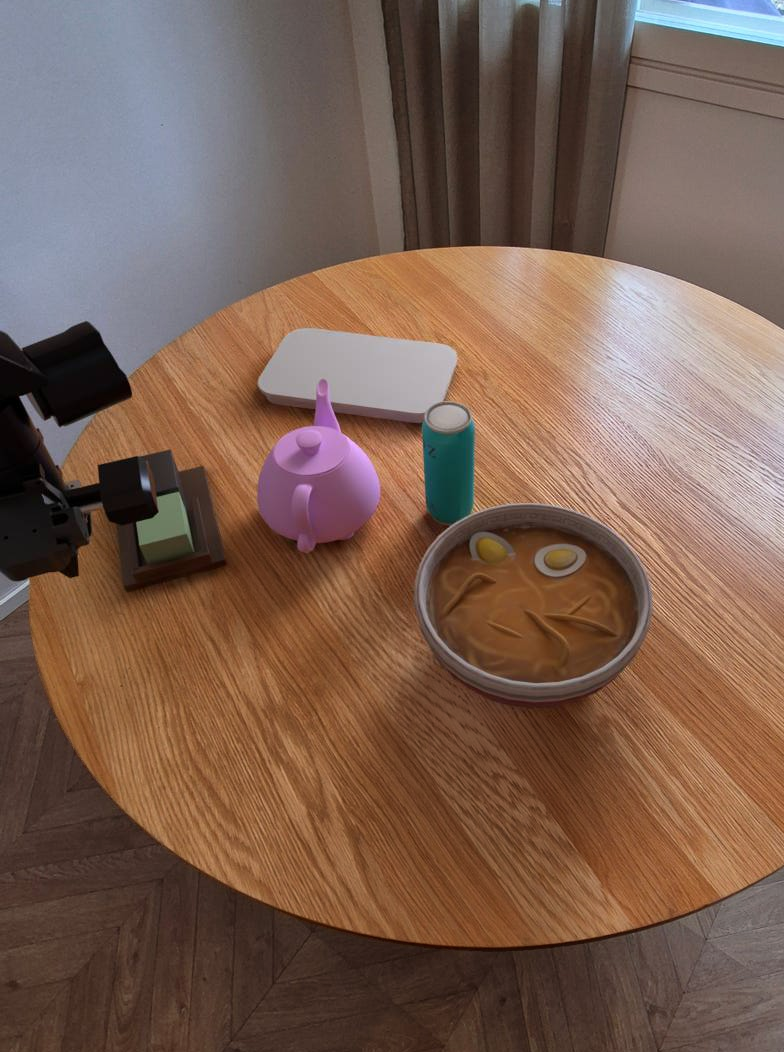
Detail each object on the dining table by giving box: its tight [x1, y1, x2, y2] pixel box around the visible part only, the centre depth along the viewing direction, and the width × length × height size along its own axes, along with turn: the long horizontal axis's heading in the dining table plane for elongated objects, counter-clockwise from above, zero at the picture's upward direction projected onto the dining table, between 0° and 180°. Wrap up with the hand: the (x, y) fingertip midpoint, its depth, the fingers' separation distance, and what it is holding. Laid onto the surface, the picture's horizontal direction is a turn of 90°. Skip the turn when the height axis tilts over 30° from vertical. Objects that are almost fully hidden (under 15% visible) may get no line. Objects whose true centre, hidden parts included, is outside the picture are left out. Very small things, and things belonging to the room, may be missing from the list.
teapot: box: [256, 379, 381, 554], centre depth 91 cm, size 20×14×12 cm
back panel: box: [115, 449, 228, 593], centre depth 91 cm, size 11×17×5 cm, turn 21°
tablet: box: [257, 327, 459, 424], centre depth 112 cm, size 16×26×2 cm, turn 79°
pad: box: [136, 492, 195, 565], centre depth 89 cm, size 5×7×4 cm
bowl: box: [413, 502, 654, 710], centre depth 79 cm, size 23×23×10 cm
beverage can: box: [421, 400, 476, 527], centre depth 90 cm, size 6×6×15 cm
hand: (74, 574), depth 73 cm, fingers closed
